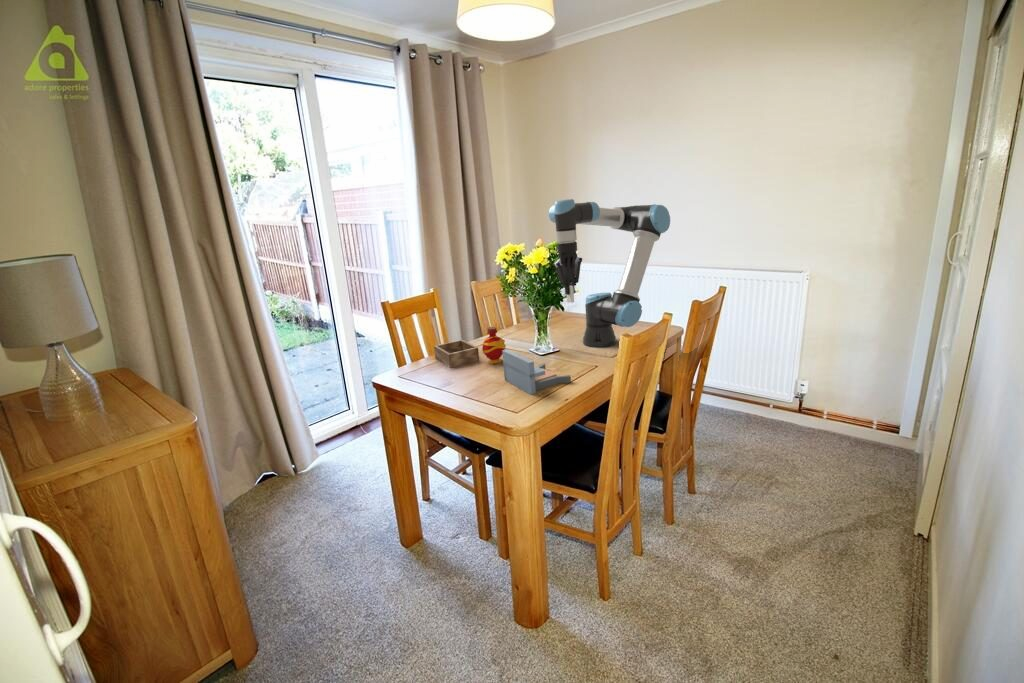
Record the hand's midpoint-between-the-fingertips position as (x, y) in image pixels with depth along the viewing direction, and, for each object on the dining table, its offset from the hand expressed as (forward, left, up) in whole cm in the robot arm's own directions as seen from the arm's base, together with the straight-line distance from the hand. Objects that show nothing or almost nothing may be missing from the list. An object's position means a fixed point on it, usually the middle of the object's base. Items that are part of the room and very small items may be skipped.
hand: (570, 301), depth 189 cm
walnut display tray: (+35, -40, -26) cm, 59 cm away
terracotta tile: (+22, +6, -27) cm, 35 cm away
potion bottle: (+23, -26, -26) cm, 43 cm away
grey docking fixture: (+21, +6, -26) cm, 34 cm away
